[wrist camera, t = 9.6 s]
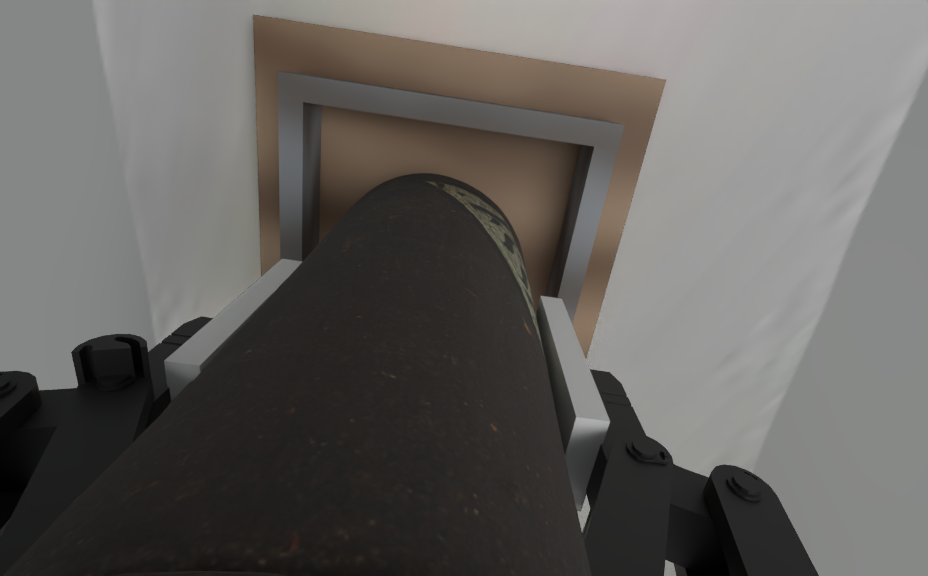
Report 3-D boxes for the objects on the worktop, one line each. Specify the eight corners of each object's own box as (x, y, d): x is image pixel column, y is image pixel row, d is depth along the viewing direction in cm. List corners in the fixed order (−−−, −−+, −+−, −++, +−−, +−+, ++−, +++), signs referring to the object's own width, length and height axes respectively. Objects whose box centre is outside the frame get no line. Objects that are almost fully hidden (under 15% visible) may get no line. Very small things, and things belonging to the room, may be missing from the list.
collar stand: (265, 18, 21) (224, 5, 18) (656, 80, 22) (689, 79, 18) (272, 358, 28) (244, 395, 25) (567, 399, 29) (579, 441, 25)
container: (494, 366, 24) (552, 1364, 5) (317, 317, 23) (-365, 1293, 4) (557, 202, 20) (1361, 1358, 2) (353, 138, 19) (-1917, 1059, 1)
